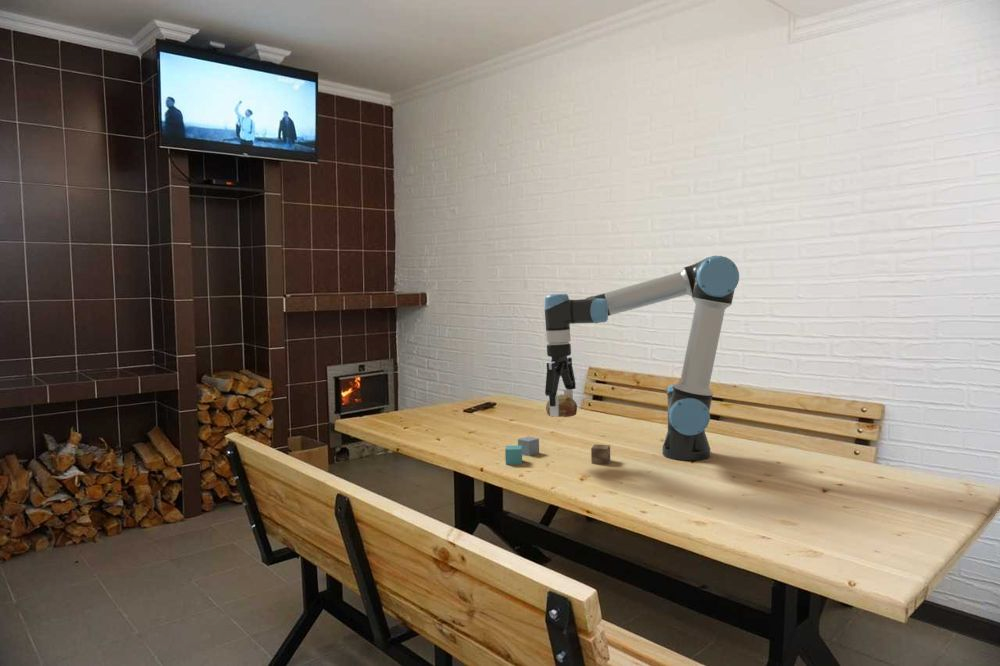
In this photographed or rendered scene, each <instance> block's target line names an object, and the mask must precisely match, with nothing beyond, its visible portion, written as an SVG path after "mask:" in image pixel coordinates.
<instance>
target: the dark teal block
mask: <svg viewBox="0 0 1000 666" xmlns="http://www.w3.org/2000/svg"><path fill="white" fill-rule="evenodd" d="M505 446H506V447H505V449H504V451H505V453H504V454H505V465H509V466H510V465H512V466H513V465H516V466H519V465H520V466H521V465H522V463H523V454H522V445H518V444H517V445H505Z"/></svg>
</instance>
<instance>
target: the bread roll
mask: <svg viewBox="0 0 1000 666" xmlns="http://www.w3.org/2000/svg"><path fill="white" fill-rule="evenodd" d="M556 396H558V406H559V417H558V418H560V417H561V418H562V417H563V418H570V417H575V416H576V415H577V412H578V405H577V402H576V401H575V399H574V398H573V399H572V398H571V397H569V396H567V395H564V394H559V395H557V394H556ZM545 410H546V414H547V415H548V416H549V417H551V418H553V416H550V405H549V400H547V403H546V405H545Z"/></svg>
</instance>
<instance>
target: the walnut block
mask: <svg viewBox="0 0 1000 666" xmlns="http://www.w3.org/2000/svg"><path fill="white" fill-rule="evenodd" d="M590 449H591V451H590V455H591V458H590V459H591V460H590V461H591V464H596V465H608V464H609V463H610V461H611V445H610V444H599V443H598V444H594V445H592V447H591V448H590Z"/></svg>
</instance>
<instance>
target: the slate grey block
mask: <svg viewBox="0 0 1000 666" xmlns="http://www.w3.org/2000/svg"><path fill="white" fill-rule="evenodd" d="M518 445H522V456H528V457H530V456H533V455H537V454H540V438H537V437H531V436H529V435H528V436H524V437H521V438H518V439H517V446H518Z"/></svg>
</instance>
